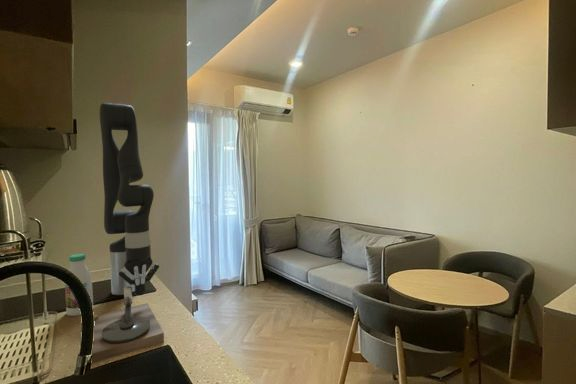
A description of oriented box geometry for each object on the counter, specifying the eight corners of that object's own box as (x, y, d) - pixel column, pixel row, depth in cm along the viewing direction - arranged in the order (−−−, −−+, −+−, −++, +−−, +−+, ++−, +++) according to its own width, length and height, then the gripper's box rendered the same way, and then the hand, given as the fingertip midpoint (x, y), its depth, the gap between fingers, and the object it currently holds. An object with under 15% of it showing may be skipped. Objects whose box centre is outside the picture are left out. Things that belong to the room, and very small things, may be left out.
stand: (86, 325, 94) (85, 314, 94) (147, 310, 105) (147, 300, 105) (87, 364, 74) (87, 351, 74) (164, 341, 85) (163, 329, 85)
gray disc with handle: (150, 336, 82) (149, 308, 82) (99, 348, 77) (98, 318, 77) (148, 305, 102) (147, 283, 102) (107, 313, 97) (106, 289, 96)
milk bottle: (77, 306, 108) (74, 252, 107) (98, 306, 108) (95, 252, 107) (60, 316, 100) (57, 258, 99) (83, 316, 100) (80, 258, 99)
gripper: (156, 239, 107) (157, 286, 108) (113, 245, 99) (116, 295, 100) (161, 243, 101) (163, 293, 102) (117, 250, 93) (119, 303, 94)
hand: (139, 294), depth 101 cm, fingers closed
